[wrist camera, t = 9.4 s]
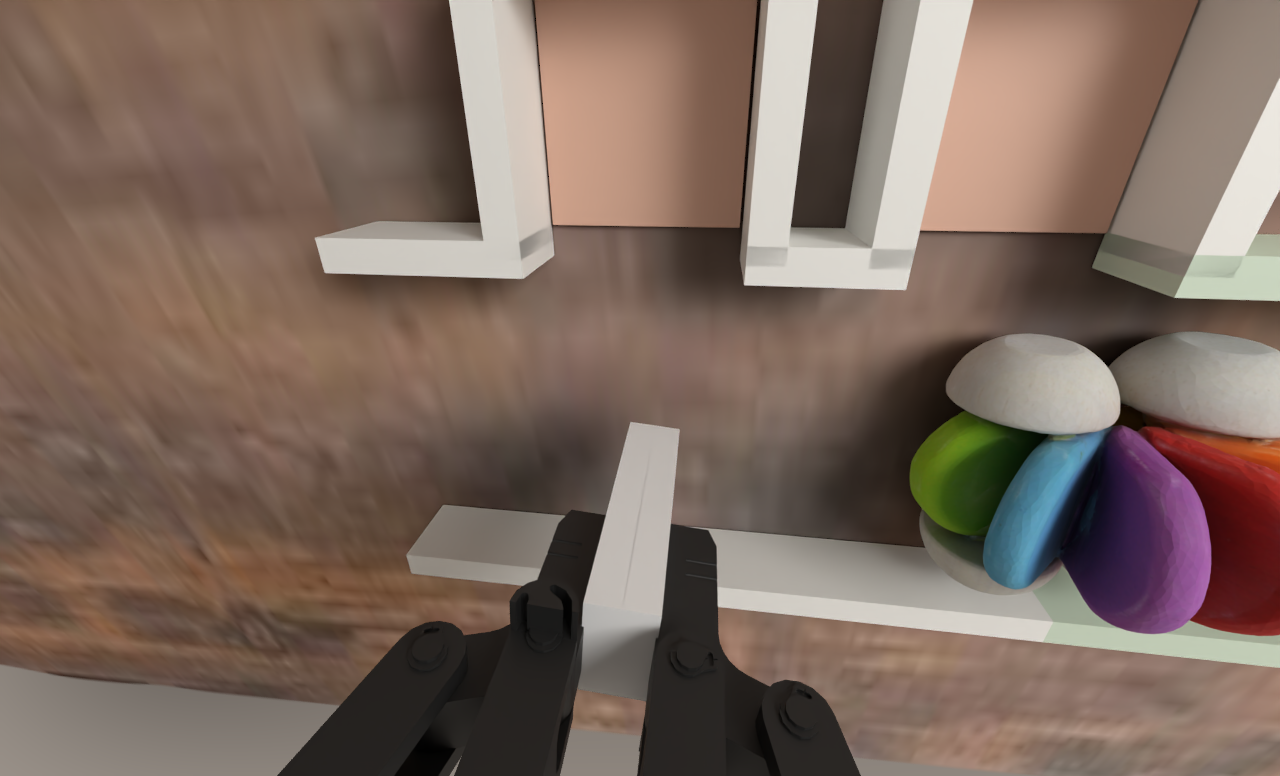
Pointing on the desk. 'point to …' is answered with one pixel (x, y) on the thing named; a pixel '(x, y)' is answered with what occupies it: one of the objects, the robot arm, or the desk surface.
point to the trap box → (862, 210)
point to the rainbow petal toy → (1113, 478)
